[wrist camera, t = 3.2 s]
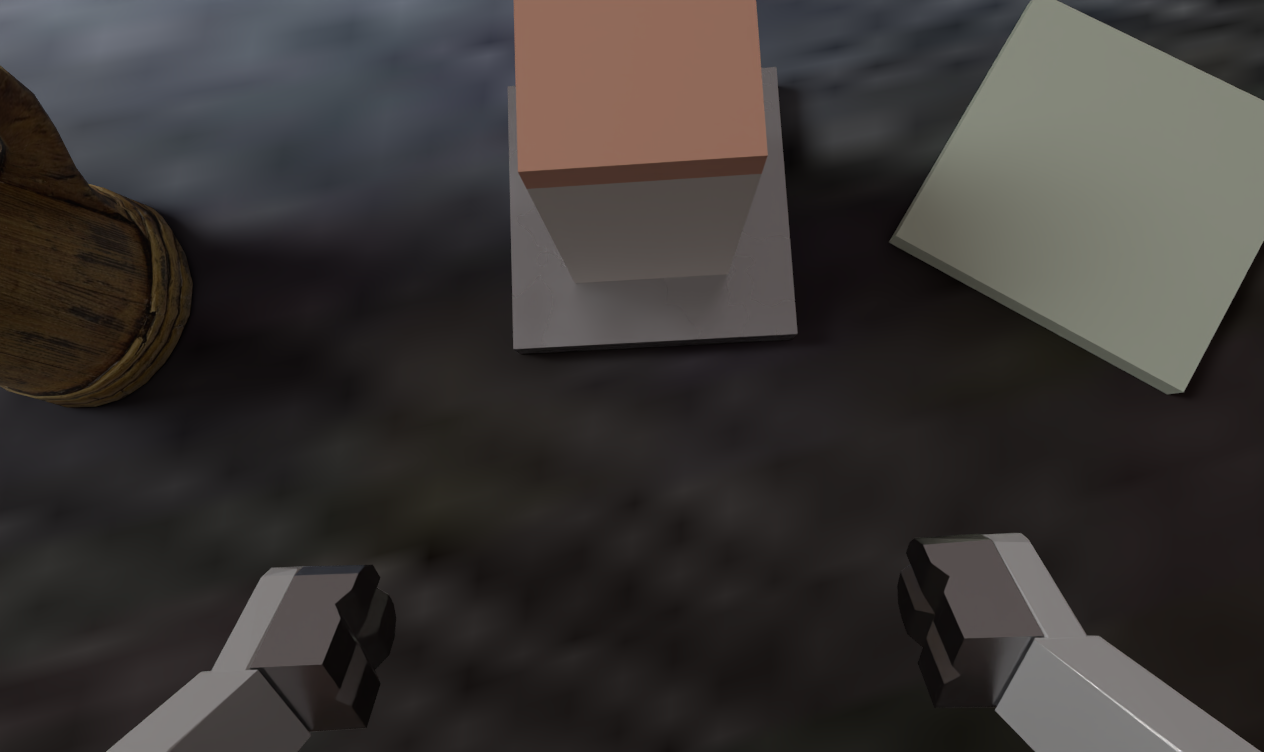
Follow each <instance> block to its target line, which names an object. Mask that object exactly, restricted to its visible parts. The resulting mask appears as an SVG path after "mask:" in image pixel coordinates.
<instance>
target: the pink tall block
mask: <svg viewBox="0 0 1264 752" xmlns="http://www.w3.org/2000/svg"><path fill="white" fill-rule="evenodd" d="M514 30H515V72H516V115H517V157H518V173H519V175H520V177H521V179H522V181H523V183H524V185H525V187H526V189H527V191H528V193H529V195H530V197H531V199H532V200H533V202H534V204H535V206H536V208H537V210H538V212H539V214H540V216H541V218H542V220H543V222H544V224H545V226H546V228H547V230H548V232H549V234H550V236H551V238H552V240H553V241H554V243H555V245H556V247H557V249H558V251H559V253H560V255H561V257H562V259H563V261H564V263H565V265H566V267H567V269H568V271H569V273H570V275H571V277H572V279H573V281H574V283H588V282H605V281H622V280H639V279H656V278H673V277H691V276H708V275H725V274H728V272H729V269H730V266H731V263H732V260H733V258H734V255H735V252H736V249H737V246H738V243H739V240H740V237H741V234H742V231H743V228H744V225H745V222H746V219H747V216H748V213H749V210H750V207H751V204H752V201H753V198H754V195H755V192H756V189H757V186H758V183H759V180H760V177H761V174H762V171H763V168H764V165H765V162H766V159H767V156H768V151H767V138H766V125H765V112H764V99H763V86H762V73H761V60H760V47H759V34H758V20H757V7H756V0H514Z"/></svg>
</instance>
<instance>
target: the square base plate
mask: <svg viewBox="0 0 1264 752" xmlns="http://www.w3.org/2000/svg"><path fill="white" fill-rule="evenodd" d="M761 73H762V86H763V99H764V112H765V125H766V138H767V151H768V156H767V159H766V162H765V165H764V168H763V171H762V174H761V177H760V180H759V183H758V186H757V189H756V192H755V195H754V198H753V201H752V204H751V207H750V210H749V213H748V216H747V219H746V222H745V225H744V228H743V231H742V234H741V237H740V240H739V243H738V246H737V249H736V252H735V255H734V258H733V260H732V263H731V266H730V269H729V272H728V274H725V275H708V276H691V277H673V278H656V279H639V280H622V281H605V282H588V283H574V281H573V279H572V277H571V275H570V273H569V271H568V269H567V267H566V265H565V263H564V261H563V259H562V257H561V255H560V253H559V251H558V249H557V247H556V245H555V243H554V241H553V240H552V238H551V236H550V234H549V232H548V230H547V228H546V226H545V224H544V222H543V220H542V218H541V216H540V214H539V212H538V210H537V208H536V206H535V204H534V202H533V200H532V199H531V197H530V195H529V193H528V191H527V189H526V187H525V185H524V183H523V181H522V179H521V177H520V175H519V173H518V157H517V115H516V86H508V124H509V169H510V215H511V261H512V306H513V349H514V350H515V351H517V352H518V353H519V354H531V353H550V352H569V351H587V350H606V349H625V348H643V347H662V346H681V345H700V344H718V343H737V342H756V341H774V340H792V339H793V338H794V337H795V336H796V335H797V334H798V333H797V320H796V308H795V295H794V283H793V270H792V257H791V245H790V232H789V220H788V207H787V195H786V182H785V170H784V157H783V145H782V132H781V120H780V107H779V95H778V82H777V70H776V67H772V68H761Z"/></svg>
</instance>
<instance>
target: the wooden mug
mask: <svg viewBox="0 0 1264 752" xmlns="http://www.w3.org/2000/svg"><path fill="white" fill-rule="evenodd" d="M192 288H193V282H192V278H191V274H190V270H189V266H188V262H187V258H186V254H185V253H184V251H183V249H182V247H181V246H180V244H179V242H178V241H177V239H176V237H175V235H174V234H173V232H172V230H171V229H170V227H169V226H168V224H167V223H166V221H165V220H164V218H163V217H162V216H161V215H160V214H159V213H158V212H157V211H155V210H154V209H153V208H151V207H148V206H146V205H144V204H141V203H139V202H136V201H134V200H132V199H129V198H127V197H124V196H122V195H119V194H117V193H115V192H112V191H110V190H107V189H105V188H102V187H98V186H94V185H90V184H88V183H87V182H86V180H85V179H84V178H83V176H82V175H81V173H80V172H79V171H78V169H77V168H76V166H75V164H74V163H73V161H72V159H71V157H70V155H69V153H68V151H67V149H66V147H65V145H64V143H63V141H62V139H61V137H60V135H59V133H58V131H57V129H56V127H55V126H54V124H53V122H52V121H51V119H50V118H49V116H48V115H47V113H46V112H45V110H44V109H43V107H42V106H41V104H40V103H39V101H38V99H37V98H36V96H35V95H34V93H32V92H31V91H30V90H29V89H28V88H26V87H25V86H24V85H23V84H22V83H21V82H19V81H18V80H17V79H16V78H15V77H13V76H12V75H11V74H10V73H9V72H7V71H6V70H5V69H4V68H3V67H1V66H0V386H1V387H2V388H4V389H6V390H7V391H10V392H14V393H18V394H21V395H25V396H29V397H33V398H37V399H40V400H44V401H47V402H50V403H54V404H57V405H61V406H64V407H96V406H100V405H103V404H107V403H110V402H114V401H117V400H121V399H123V398H124V397H126V396H128V395H129V394H131V393H132V392H134V391H135V390H137V389H138V388H140V387H141V386H143V385H144V384H146V383H147V382H148V381H149V379H150V378H151V377H152V376H153V375H154V374H155V373H156V372H157V371H158V370H159V369H160V368H161V367H162V366H163V365H164V364H165V363H166V361H167V359H168V358H169V356H170V354H171V353H172V351H173V349H174V348H175V346H176V344H177V342H178V340H179V338H180V336H181V334H182V331H183V329H184V327H185V325H186V322H187V320H188V318H189V316H190V308H191V298H192Z"/></svg>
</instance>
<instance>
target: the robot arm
mask: <svg viewBox="0 0 1264 752" xmlns="http://www.w3.org/2000/svg"><path fill="white" fill-rule="evenodd" d="M906 554H907V557H908V559H909V562H910V565H909V566H908V567H906V568H905V569H904V570H902V571H901V573H900V577H899V581H898V586H897V587H898V604H899V609H900V613H901V618H902V621H903V623H904V626H905V629H906V632H907V634H908V635H909V636H910V637H911V638H912V639H913V640H915V641H916V642H917V643H918V644H919V645H920V646H922V647H923V649H922V652H921V655H920V658H919V661H918V665H919V668H920V670H921V673H922V676H923V678H924V681H925V684H926V686H927V689H928V692H929V695H930V697H931V700H932V703H933V705H934V708H962V707H997V708H996V709H995V711H996V712H997V713H998V714H999V715H1000V716H1001V717H1002V718H1003V719H1004V720H1005V721H1006V722H1007V723H1008V724H1009V725H1010V726H1011V727H1012V728H1013V729H1014V730H1015V731H1016V732H1017V733H1018V734H1019V735H1020V737H1021V738H1022V739H1023V740H1024V741H1025V742H1026V743H1027V744H1028V745H1029V746H1030V747H1031V748H1032V749H1033V750H1034V751H1035V752H1261V751H1259V750H1258V749H1256V748H1255V747H1254V746H1252V745H1251V744H1249V743H1248V742H1247V741H1245V740H1244V739H1242V738H1241V737H1240V736H1238V735H1237V734H1235V733H1234V732H1233V731H1231V730H1230V729H1228V728H1227V727H1226V726H1224V725H1223V724H1221V723H1220V722H1219V721H1217V720H1216V719H1214V718H1213V717H1212V716H1210V715H1209V714H1207V713H1206V712H1205V711H1203V710H1202V709H1200V708H1199V707H1198V706H1196V705H1195V704H1193V703H1192V702H1191V701H1189V700H1188V699H1186V698H1185V697H1184V696H1182V695H1181V694H1179V693H1178V692H1177V691H1175V690H1174V689H1172V688H1171V687H1170V686H1168V685H1167V684H1166V683H1164V682H1163V681H1161V680H1160V679H1159V678H1157V677H1156V676H1154V675H1153V674H1152V673H1150V672H1149V671H1147V670H1146V669H1145V668H1143V667H1142V666H1140V665H1139V664H1138V663H1136V662H1135V661H1133V660H1132V659H1131V658H1129V657H1128V656H1126V655H1125V654H1124V653H1122V652H1121V651H1119V650H1118V649H1117V648H1115V647H1114V646H1112V645H1111V644H1110V643H1108V642H1107V641H1105V640H1104V639H1103V638H1101V637H1100V636H1087V634H1086V633H1085V631H1084V629H1083V628H1082V626H1081V625H1080V623H1079V621H1078V620H1077V618H1076V616H1075V615H1074V613H1073V611H1072V610H1071V608H1070V607H1069V605H1068V603H1067V602H1066V600H1065V598H1064V597H1063V595H1062V593H1061V592H1060V590H1059V589H1058V587H1057V585H1056V584H1055V582H1054V580H1053V579H1052V577H1051V575H1050V574H1049V572H1048V571H1047V569H1046V567H1045V566H1044V564H1043V562H1042V561H1041V559H1040V557H1039V556H1038V554H1037V553H1036V551H1035V549H1034V548H1033V546H1032V544H1031V543H1030V541H1029V539H1027V538H1026V537H1025V536H1024V535H1022V534H1021V533H1003V534H988V535H981V534H969V535H953V536H937V537H921V538H914V539H913V540H912V541H911V542H910V543H909V546H908V549H907V552H906ZM379 580H380V576H379V575H378V573H377V571H376V569H375V568H374V566H373V565H345V566H309V567H307V566H302V567H280V568H271V569H270V570H269V571H268V572H266V573H265V574H264V575H263V576H262V577H261V579H260V580H259V582H258V584H257V586H256V588H255V590H254V592H253V594H252V595H251V597H250V599H249V601H248V603H247V605H246V607H245V609H244V610H243V612H242V614H241V616H240V618H239V620H238V622H237V624H236V625H235V627H234V629H233V631H232V633H231V635H230V637H229V639H228V640H227V642H226V644H225V646H224V648H223V650H222V652H221V654H220V655H219V657H218V659H217V661H216V663H215V665H214V667H213V669H212V670H211V671H204V672H200V673H199V674H198V675H197V676H196V677H194V678H193V679H192V680H191V681H190V682H188V683H187V684H186V685H185V686H184V687H183V688H181V689H180V690H179V691H178V692H177V693H175V694H174V695H173V696H172V697H171V698H169V699H168V700H167V701H166V702H165V703H164V704H162V705H161V706H160V707H159V708H158V709H156V710H155V711H154V712H153V713H152V714H150V715H149V716H148V717H147V718H146V719H144V720H143V721H142V722H141V723H140V724H139V725H137V726H136V727H135V728H134V729H133V730H131V731H130V732H129V733H128V734H127V735H125V736H124V737H123V738H122V739H121V740H119V741H118V742H117V743H116V744H115V745H114V746H112V747H111V748H110V749H109V750H108V751H106V752H297V751H298V750H299V749H300V748H301V747H302V745H303V744H304V743H305V742H306V741H307V739H308V738H309V737H310V736H311V734H310V732H315V731H330V730H346V729H361V728H367V725H368V722H369V719H370V715H371V712H372V709H373V706H374V703H375V700H376V696H377V693H378V690H379V687H380V681H379V679H378V676H377V674H376V671H375V669H376V668H377V667H378V666H379V665H380V664H381V663H382V662H383V661H384V660H385V659H386V658H387V657H388V656H389V655H390V651H391V648H392V644H393V641H394V637H395V626H396V614H395V609H394V604H393V602H392V600H391V598H390V596H389V594H387V593H385V592H383V591H382V590H380V589H378V588H377V586H378V583H379Z"/></svg>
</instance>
